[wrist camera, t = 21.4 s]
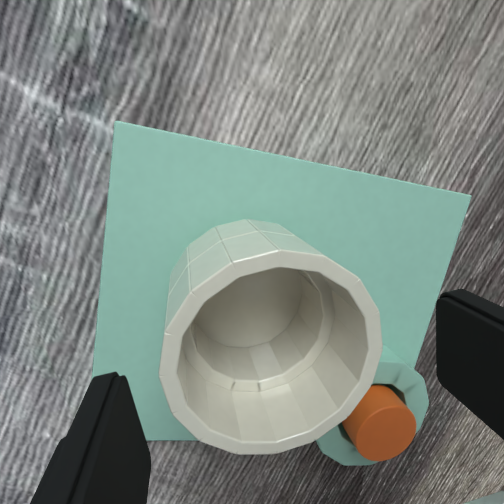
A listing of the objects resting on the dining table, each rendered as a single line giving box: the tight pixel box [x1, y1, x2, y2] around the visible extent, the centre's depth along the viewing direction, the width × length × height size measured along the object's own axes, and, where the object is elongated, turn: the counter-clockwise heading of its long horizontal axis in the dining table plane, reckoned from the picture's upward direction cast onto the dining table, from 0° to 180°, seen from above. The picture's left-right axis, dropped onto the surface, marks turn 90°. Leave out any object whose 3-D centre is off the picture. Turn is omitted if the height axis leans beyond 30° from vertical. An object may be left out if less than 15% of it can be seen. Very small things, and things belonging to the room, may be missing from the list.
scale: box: [91, 121, 471, 466], centre depth 16 cm, size 16×14×3 cm
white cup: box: [158, 219, 383, 455], centre depth 12 cm, size 7×7×6 cm
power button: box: [342, 385, 416, 461], centre depth 16 cm, size 3×3×2 cm
